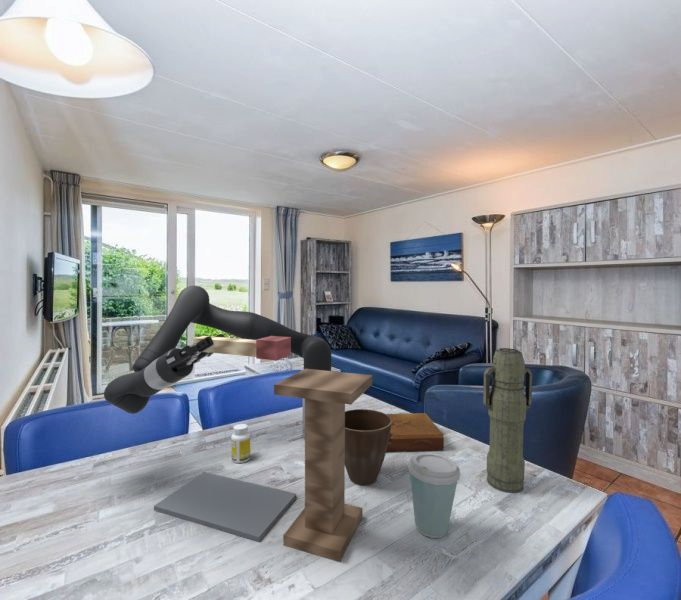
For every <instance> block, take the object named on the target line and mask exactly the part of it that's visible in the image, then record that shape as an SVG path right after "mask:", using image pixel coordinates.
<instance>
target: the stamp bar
mask: <svg viewBox="0 0 681 600" xmlns="http://www.w3.org/2000/svg"><path fill="white" fill-rule="evenodd" d="M208 336H210V337H211V338H212V341H213V345H212V346H211V347H209V348H207V349H206V350H204V351H202V352H210V353H213V354H221V355H231V356H232V355H233V356H240V357H241V356H242V357H252V358H256V359H258V360H268V361H279V360H282V359H285V358H287V357H289V356H292V352H291V337H280V336H269V337H265V338H261V339H257V340H249V339H242V338H238V337H236V338H234V337H225V336H224V337H216V336H211V335H207V336H206V335H202V336H197V337H193V338H192V339H193V340H192V343H193V344H194V343H198V342H200V341H201V340H203V339H204V338H206V337H208ZM193 344H192V345H193Z"/></svg>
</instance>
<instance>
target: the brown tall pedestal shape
mask: <svg viewBox="0 0 681 600" xmlns="http://www.w3.org/2000/svg"><path fill="white" fill-rule="evenodd" d="M372 385H373V375H372V374H366V373H365V374H363V373H352V372H344V371H343V372H342V371H333V370H331V371H324V370H314V369H304V368H303V369H302V370H300V371H298V372H296V373H294V374H292V375H290V376H288V377H286V378H284V379H283V380H280V381H278V382H276V383H274V384H273V395H276V396H283V397H290V398H297V399H303V398H304V399H305V438H304V508H303V509H302V511H301V512H300V513H299V515H298V516H297V517H296V518H295V520H293V522H292V524H291V525H290V526H289V527H288V528H287V530H286V531H285V532H284V534H283V546H286V547H289V548H292V549H295V550H299V551H302V552H304V553H305V552H306V553H309V554H311V555H316V556H319V557H322V558H325V559H329V560H333V561H336V562H339V563H341V561H342V559H343V557H344V555H345V553H346V551H347V549H348V547H349V545H350V542H351V541H352V538H353V537H354V535H355V533H356V531H357V530H358V529H357V528H358V526H359V524H360V522H361V520H362V518H363V507H360V506H357V505H352V504H347V503H345V496H346V495H345V491H346V490H345V485H346V484H345V483H346V482H345V481H346V477H345V475H346V474H345V472H346V468H345V411H346V405H350V406H351V405H353V403H355V401H357V400H358V398H360V397H361V396H362V395H363V394H364V393H365V392H366V391H367V390H368V389H369V388H370V387H371V386H372Z"/></svg>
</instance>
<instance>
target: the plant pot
mask: <svg viewBox="0 0 681 600" xmlns="http://www.w3.org/2000/svg"><path fill="white" fill-rule="evenodd" d="M387 414H388V413H385V412H382V411H379V410H374V409H361V408H359V409H349V410H345V471H346V473H347V475H348V478H349V479H350V481H351V482H352V483H353V484H356V485H360V486H368V485H372V484H373V483H375V482H377V479H378V478H379V475H380V472H381V469H382V467H383V463H384V460H385V457H386V453H387V452H386V450H387V446H388V442H389V437H390V431H391V424H392V419H391V418H390V417H389V416H388V415H387Z"/></svg>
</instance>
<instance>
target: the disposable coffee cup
mask: <svg viewBox="0 0 681 600" xmlns="http://www.w3.org/2000/svg"><path fill="white" fill-rule="evenodd" d="M407 469H408V471H409V479H410V488H411V498H412V506H413V515H414V523H415V526H416V528H417V530H418V532H419V533H421V534H422V536H423V535H424V536H425V537H427V538H431V539H440V538H442V537H444V536H445V535H446V533H447V532H448V529H449V524H450V519H451V515H452V509H453V507H454V505H453V504H454V499H455V497H456V490H457V486H458V481H460V478H461V469H460V467H459V466H458V464H456V462H455V461H454V460H453V459H451V458H449V457H448V456H445V455H443V454H441V453H440V454H439V453H435V452H419V453H416V454H414V455H413V456H412V457H411V459H410V461H409V462H408V467H407Z"/></svg>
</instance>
